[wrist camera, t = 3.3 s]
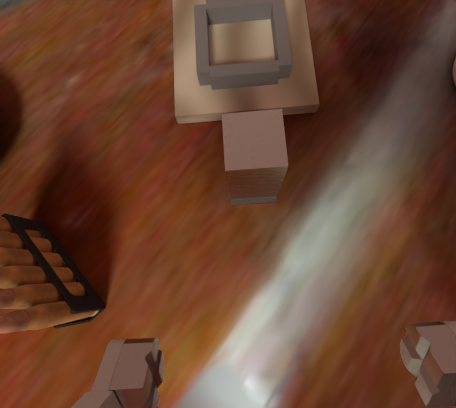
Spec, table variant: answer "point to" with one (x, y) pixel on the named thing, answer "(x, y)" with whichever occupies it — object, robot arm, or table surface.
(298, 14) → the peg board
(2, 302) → the ammunition clip
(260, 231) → the table surface
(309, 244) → the table surface
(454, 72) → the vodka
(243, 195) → the grey rectangular block
